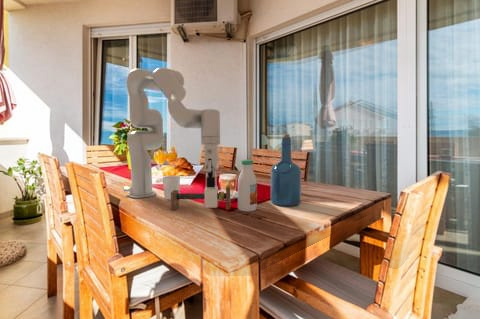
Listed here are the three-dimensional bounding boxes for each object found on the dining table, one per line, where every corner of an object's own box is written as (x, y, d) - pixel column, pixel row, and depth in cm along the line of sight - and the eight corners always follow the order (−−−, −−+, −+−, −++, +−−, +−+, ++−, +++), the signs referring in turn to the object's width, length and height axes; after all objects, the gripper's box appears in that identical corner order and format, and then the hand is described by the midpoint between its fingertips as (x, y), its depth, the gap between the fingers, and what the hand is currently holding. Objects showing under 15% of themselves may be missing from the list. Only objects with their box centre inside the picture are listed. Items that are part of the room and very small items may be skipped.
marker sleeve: (204, 207, 108) (204, 174, 106) (206, 203, 113) (205, 172, 112) (217, 207, 108) (216, 174, 106) (218, 203, 113) (217, 172, 112)
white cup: (176, 200, 123) (175, 178, 121) (160, 199, 124) (159, 178, 123) (183, 196, 130) (182, 176, 129) (168, 195, 132) (167, 175, 131)
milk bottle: (243, 213, 103) (243, 161, 101) (234, 208, 110) (234, 159, 108) (260, 210, 107) (260, 160, 105) (250, 205, 114) (250, 158, 112)
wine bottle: (273, 198, 126) (274, 133, 123) (302, 200, 122) (304, 133, 119) (266, 205, 113) (267, 134, 110) (298, 208, 109) (300, 134, 106)
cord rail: (171, 210, 108) (170, 188, 107) (174, 206, 113) (173, 185, 112) (229, 209, 108) (229, 187, 107) (230, 206, 113) (230, 185, 112)
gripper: (218, 141, 99) (219, 190, 101) (221, 140, 116) (221, 182, 118) (198, 141, 99) (199, 190, 101) (203, 140, 116) (204, 182, 118)
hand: (211, 185), depth 109 cm, fingers open, 3 cm apart
